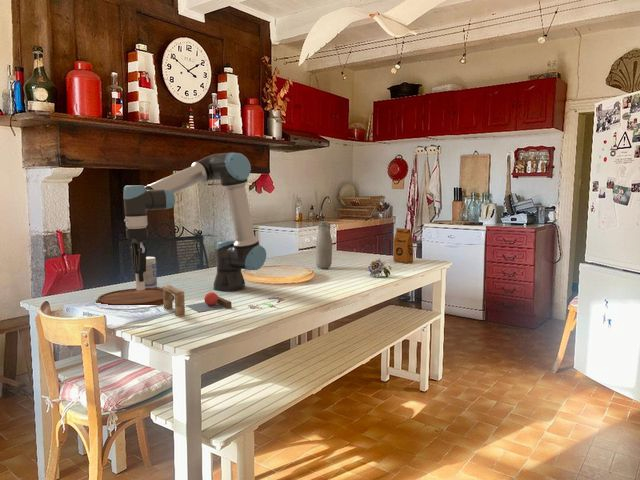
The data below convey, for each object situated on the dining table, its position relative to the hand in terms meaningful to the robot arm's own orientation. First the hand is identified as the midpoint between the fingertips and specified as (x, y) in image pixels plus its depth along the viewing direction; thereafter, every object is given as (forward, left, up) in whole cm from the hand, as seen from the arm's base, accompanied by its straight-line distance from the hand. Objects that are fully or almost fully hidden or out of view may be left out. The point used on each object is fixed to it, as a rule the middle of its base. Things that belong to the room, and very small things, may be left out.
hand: (140, 289), depth 183 cm
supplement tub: (-18, -51, -11) cm, 55 cm away
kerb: (-32, 0, -11) cm, 34 cm away
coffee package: (-176, -30, -11) cm, 179 cm away
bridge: (-12, 0, -11) cm, 16 cm away
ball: (-29, 0, -8) cm, 30 cm away
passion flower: (-129, -5, -11) cm, 130 cm away
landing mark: (-26, 0, -11) cm, 28 cm away
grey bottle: (-120, -42, -11) cm, 128 cm away
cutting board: (-6, -29, -11) cm, 32 cm away
